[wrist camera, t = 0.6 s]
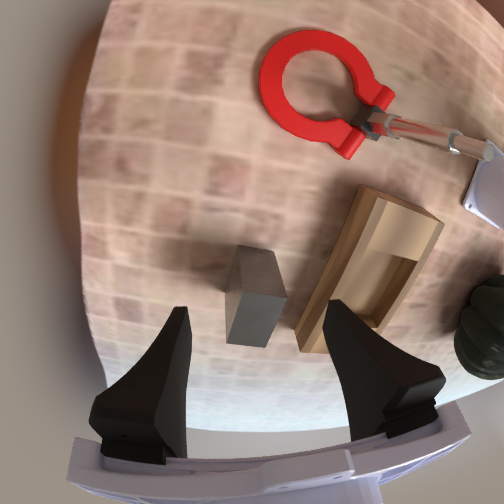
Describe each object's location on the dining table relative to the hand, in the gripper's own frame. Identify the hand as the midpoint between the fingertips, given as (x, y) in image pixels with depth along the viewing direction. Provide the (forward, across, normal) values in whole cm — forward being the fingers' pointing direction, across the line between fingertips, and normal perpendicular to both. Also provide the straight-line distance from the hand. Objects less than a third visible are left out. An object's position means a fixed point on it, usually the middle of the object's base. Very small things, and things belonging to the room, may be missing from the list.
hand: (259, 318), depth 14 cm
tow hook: (+10, -5, -11) cm, 16 cm away
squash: (+10, -34, +12) cm, 38 cm away
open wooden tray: (+10, -11, +4) cm, 15 cm away
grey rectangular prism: (+10, 0, +4) cm, 10 cm away
